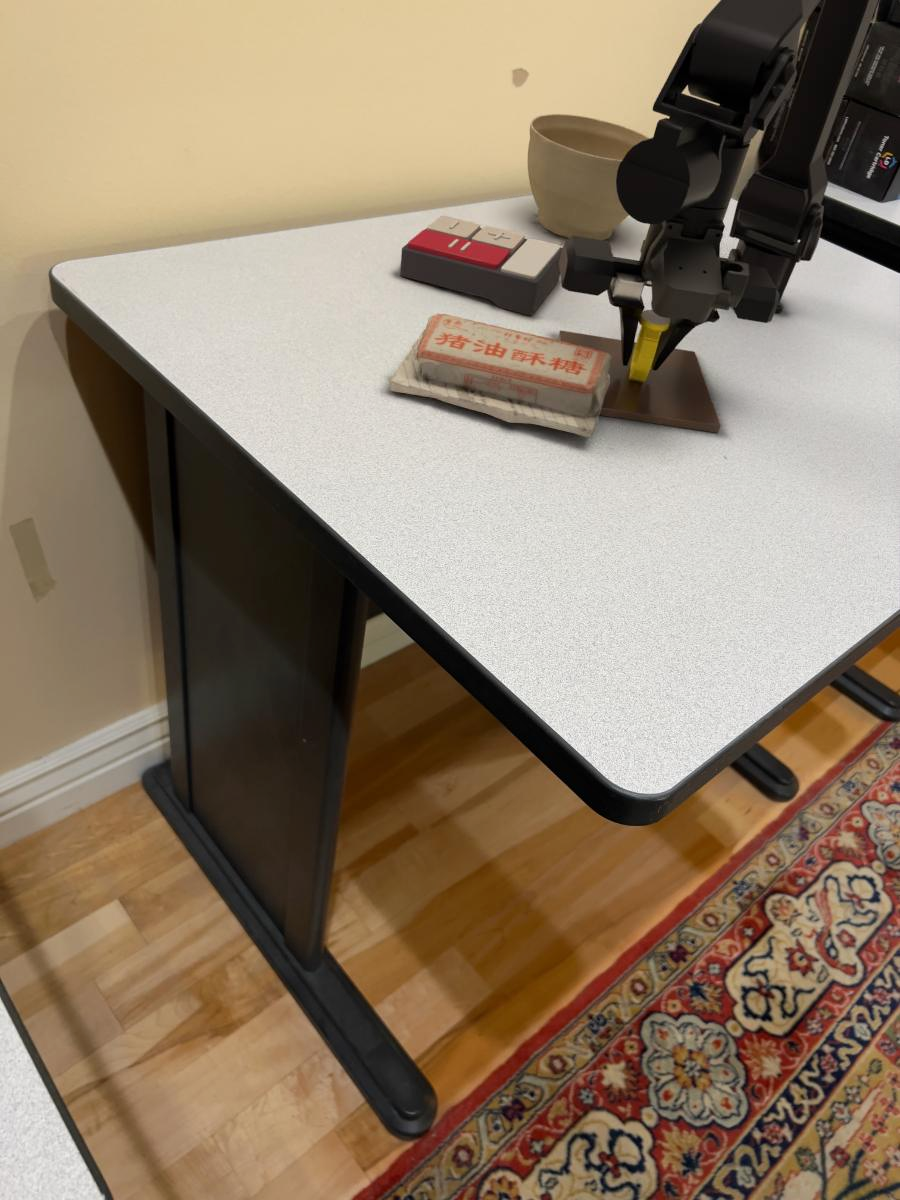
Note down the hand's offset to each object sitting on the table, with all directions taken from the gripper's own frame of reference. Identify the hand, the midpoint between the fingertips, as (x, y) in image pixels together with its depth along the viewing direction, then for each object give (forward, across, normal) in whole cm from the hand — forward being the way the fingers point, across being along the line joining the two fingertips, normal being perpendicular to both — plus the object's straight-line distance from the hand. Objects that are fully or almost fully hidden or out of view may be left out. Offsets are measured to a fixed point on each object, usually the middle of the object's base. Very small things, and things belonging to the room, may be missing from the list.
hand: (639, 366), depth 84 cm
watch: (+1, 0, 0) cm, 1 cm away
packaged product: (+1, -13, -6) cm, 14 cm away
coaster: (+2, 0, 0) cm, 2 cm away
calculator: (+2, -15, +18) cm, 24 cm away
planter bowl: (+2, -3, +38) cm, 38 cm away
